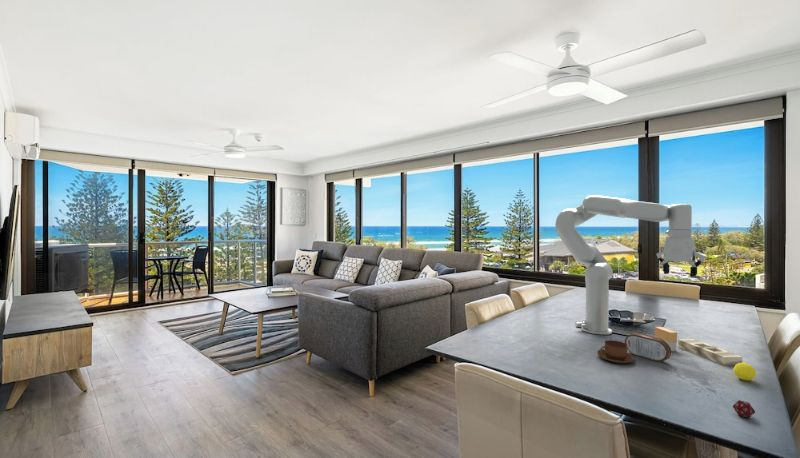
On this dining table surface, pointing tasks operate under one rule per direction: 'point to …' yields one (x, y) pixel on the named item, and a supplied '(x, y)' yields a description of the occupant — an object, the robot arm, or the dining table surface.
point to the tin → (648, 347)
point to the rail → (709, 352)
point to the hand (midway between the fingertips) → (679, 275)
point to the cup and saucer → (615, 352)
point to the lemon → (744, 371)
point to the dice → (743, 409)
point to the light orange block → (667, 336)
